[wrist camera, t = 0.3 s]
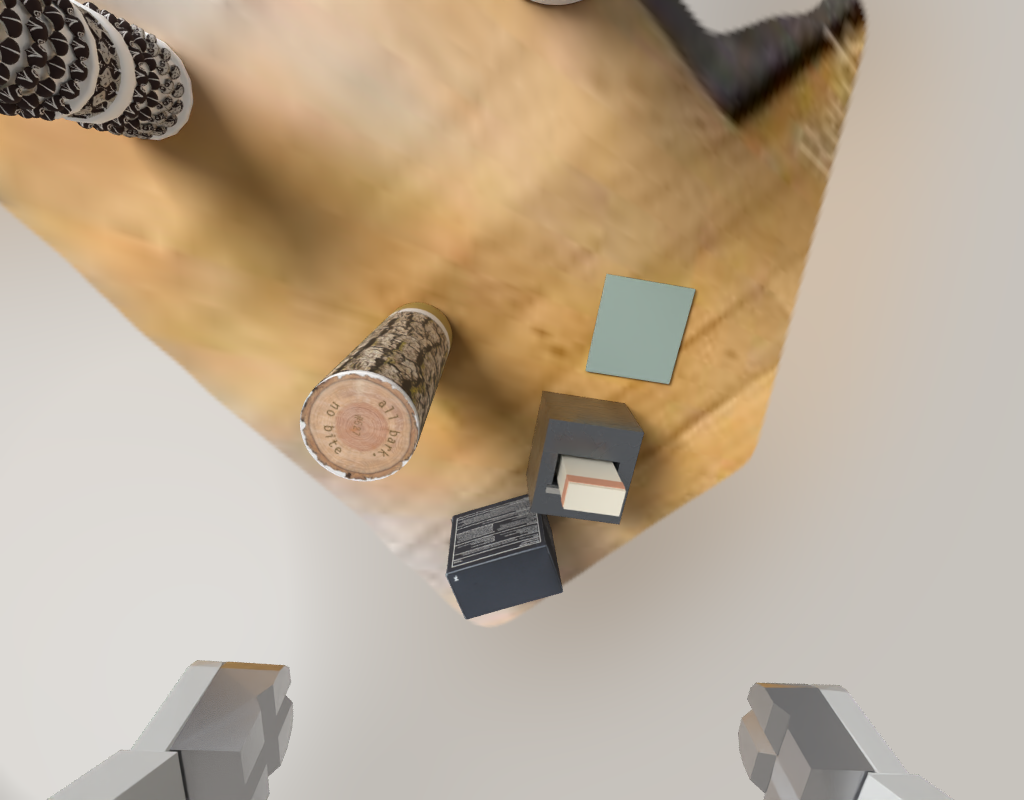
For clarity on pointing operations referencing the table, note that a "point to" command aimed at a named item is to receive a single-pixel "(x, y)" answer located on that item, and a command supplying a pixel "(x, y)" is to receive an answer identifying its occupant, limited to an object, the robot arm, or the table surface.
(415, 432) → the paper tube
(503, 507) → the small box
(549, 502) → the dispenser
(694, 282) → the table surface
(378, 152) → the table surface
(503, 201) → the table surface
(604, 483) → the white block
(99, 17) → the black white cylinder
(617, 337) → the mat
